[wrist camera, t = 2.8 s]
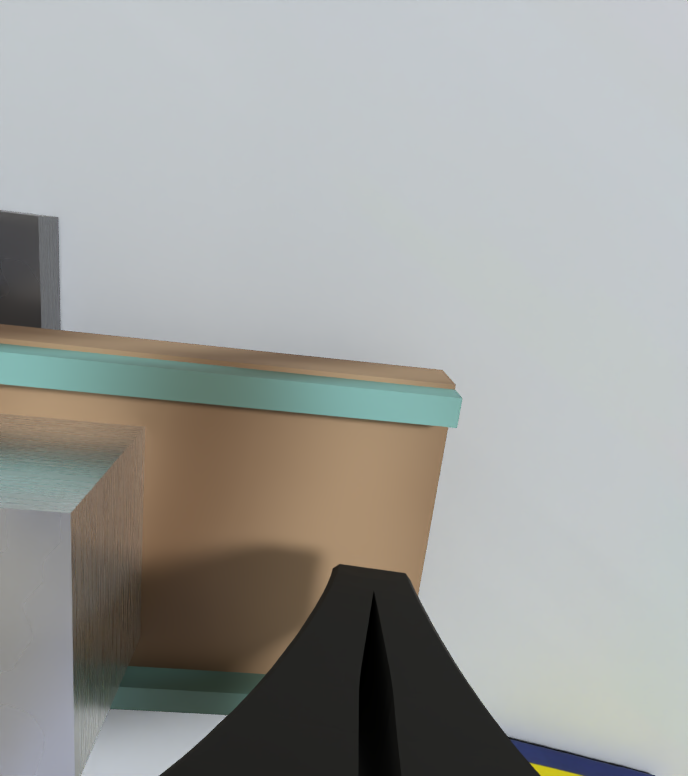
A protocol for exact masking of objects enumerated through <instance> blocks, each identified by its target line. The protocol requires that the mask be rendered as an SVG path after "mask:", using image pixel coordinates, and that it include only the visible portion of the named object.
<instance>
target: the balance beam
mask: <svg viewBox="0 0 688 776" xmlns="http://www.w3.org/2000/svg"><path fill="white" fill-rule="evenodd" d="M461 403H462V397H461V396H460V395H459V394H458V393H457V392H456V390H455V384H454V382H453V381H452V380H451V379H450V378H449V377H448V376H447V375H446V374H445V372H444V371H443V370H436V369H427V368H417V367H408V366H398V365H388V364H379V363H369V362H360V361H350V360H340V359H331V358H321V357H312V356H302V355H293V354H283V353H273V352H264V351H254V350H245V349H235V348H226V347H216V346H206V345H197V344H187V343H178V342H168V341H158V340H149V339H139V338H130V337H120V336H111V335H101V334H91V333H82V332H72V331H63V330H53V329H43V328H34V327H24V326H15V325H5V324H0V413H2V414H13V415H24V416H35V417H46V418H56V419H67V420H78V421H89V422H100V423H111V424H122V425H132V426H143V427H145V453H144V497H143V540H142V584H141V628H140V639H139V641H138V644H137V646H136V648H135V651H134V653H133V655H132V658H131V660H130V662H129V665H128V667H127V669H126V672H125V674H124V676H123V679H122V681H121V683H120V686H119V688H118V690H117V693H116V695H115V697H114V700H113V702H112V704H111V707H110V709H124V710H143V711H162V712H181V713H200V714H219V715H229V714H230V713H231V712H232V711H233V710H234V709H235V708H236V707H237V706H238V705H239V704H240V702H241V701H242V700H243V699H244V698H245V697H246V696H247V695H248V694H249V693H250V692H251V691H252V690H253V689H254V687H255V686H256V685H257V684H258V683H259V682H260V681H261V679H262V678H263V677H264V676H265V675H266V674H267V672H268V671H269V670H270V669H271V668H272V666H273V665H274V664H275V663H276V661H277V660H278V659H279V657H280V656H281V655H282V653H283V652H284V651H285V650H286V648H287V647H288V646H289V644H290V643H291V642H292V640H293V639H294V638H295V636H296V635H297V634H298V632H299V631H300V629H301V628H302V626H303V625H304V623H305V621H306V620H307V618H308V617H309V615H310V614H311V612H312V611H313V609H314V608H315V606H316V604H317V602H318V601H319V599H320V597H321V595H322V593H323V592H324V590H325V588H326V585H327V583H328V581H329V579H330V576H331V573H332V569H333V568H334V567H336V566H337V565H339V564H344V565H351V566H358V567H366V568H373V569H380V570H387V571H394V572H401V573H406V575H407V576H408V577H409V579H410V580H411V582H412V585H413V587H414V589H415V591H416V593H417V595H418V592H419V587H420V581H421V576H422V570H423V565H424V559H425V553H426V548H427V542H428V537H429V531H430V525H431V520H432V514H433V509H434V503H435V497H436V492H437V486H438V481H439V475H440V469H441V464H442V458H443V453H444V447H445V441H446V436H447V430H448V427H452V428H457V425H458V419H459V414H460V408H461Z"/></svg>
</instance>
